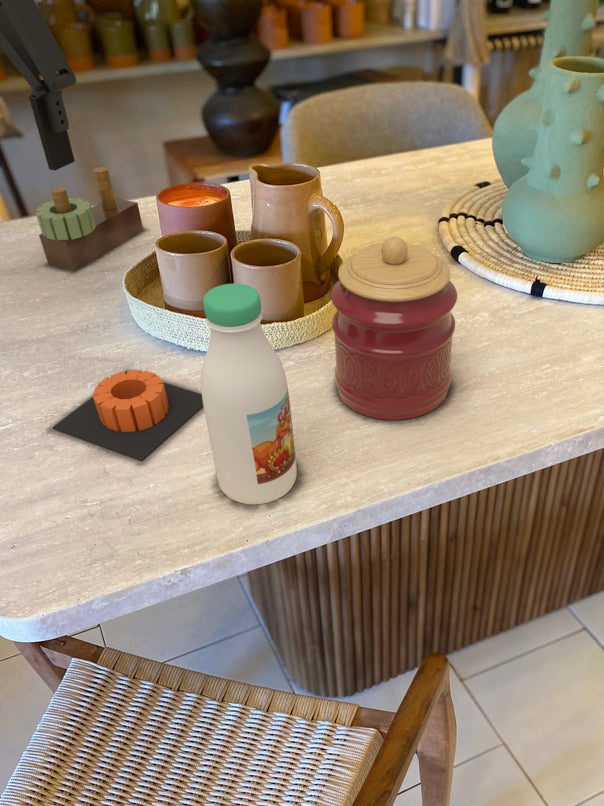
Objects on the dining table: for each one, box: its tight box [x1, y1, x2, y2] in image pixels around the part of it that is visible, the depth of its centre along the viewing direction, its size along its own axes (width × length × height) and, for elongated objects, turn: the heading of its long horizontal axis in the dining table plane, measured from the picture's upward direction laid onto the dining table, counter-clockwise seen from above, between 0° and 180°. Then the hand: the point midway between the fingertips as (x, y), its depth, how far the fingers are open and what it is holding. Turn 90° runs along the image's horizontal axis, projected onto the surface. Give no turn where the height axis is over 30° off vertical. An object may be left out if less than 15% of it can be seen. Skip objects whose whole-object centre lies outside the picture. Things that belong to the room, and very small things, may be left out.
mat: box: [52, 370, 204, 462], centre depth 83 cm, size 12×12×1 cm
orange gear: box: [92, 369, 169, 432], centre depth 82 cm, size 7×7×3 cm
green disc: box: [35, 197, 96, 240], centre depth 107 cm, size 7×7×3 cm
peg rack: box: [38, 166, 145, 272], centre depth 110 cm, size 15×5×10 cm, turn 153°
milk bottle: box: [200, 283, 298, 505], centre depth 69 cm, size 8×8×20 cm
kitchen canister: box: [330, 236, 458, 421], centre depth 81 cm, size 13×13×18 cm
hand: (11, 153), depth 77 cm, fingers open, 13 cm apart
